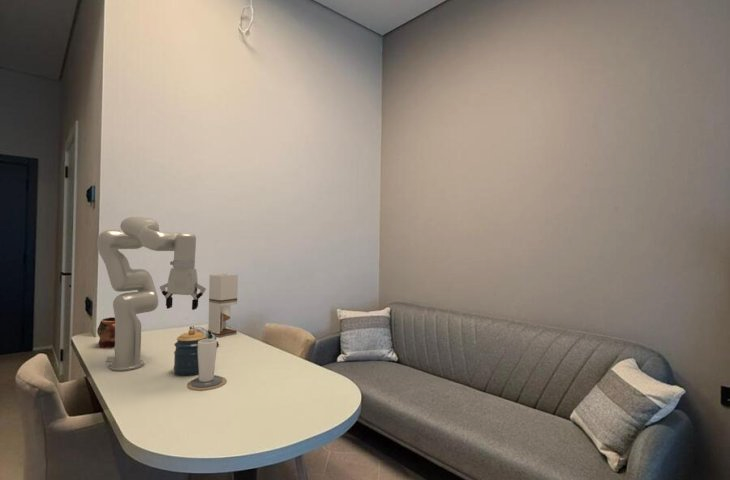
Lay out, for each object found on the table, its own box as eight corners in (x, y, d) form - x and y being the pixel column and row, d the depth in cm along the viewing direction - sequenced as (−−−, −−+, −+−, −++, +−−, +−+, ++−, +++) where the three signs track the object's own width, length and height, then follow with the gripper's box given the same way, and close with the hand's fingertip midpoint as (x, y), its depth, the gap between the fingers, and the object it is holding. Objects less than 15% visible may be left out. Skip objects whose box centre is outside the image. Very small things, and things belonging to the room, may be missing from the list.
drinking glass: (208, 384, 140) (209, 343, 140) (192, 382, 142) (193, 342, 142) (219, 377, 147) (220, 339, 147) (204, 376, 148) (204, 338, 148)
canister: (173, 378, 149) (174, 333, 149) (173, 368, 161) (174, 326, 161) (209, 373, 155) (210, 330, 155) (206, 364, 167) (207, 324, 167)
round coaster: (180, 390, 137) (180, 387, 137) (196, 376, 151) (196, 373, 151) (219, 390, 137) (219, 387, 137) (231, 377, 151) (231, 374, 151)
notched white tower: (219, 337, 214) (221, 275, 214) (208, 335, 220) (209, 274, 220) (236, 333, 223) (237, 274, 224) (225, 331, 229) (226, 273, 230)
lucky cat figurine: (223, 347, 194) (216, 326, 187) (200, 360, 186) (192, 339, 180) (209, 334, 203) (203, 314, 197) (187, 346, 196) (180, 325, 189)
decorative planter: (131, 347, 191) (132, 319, 192) (103, 352, 182) (104, 323, 182) (118, 340, 204) (119, 314, 204) (91, 344, 195) (92, 317, 195)
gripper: (156, 264, 144) (154, 309, 144) (202, 267, 145) (200, 311, 145) (166, 263, 151) (164, 305, 151) (210, 265, 152) (207, 307, 152)
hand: (181, 308), depth 148 cm, fingers open, 9 cm apart
